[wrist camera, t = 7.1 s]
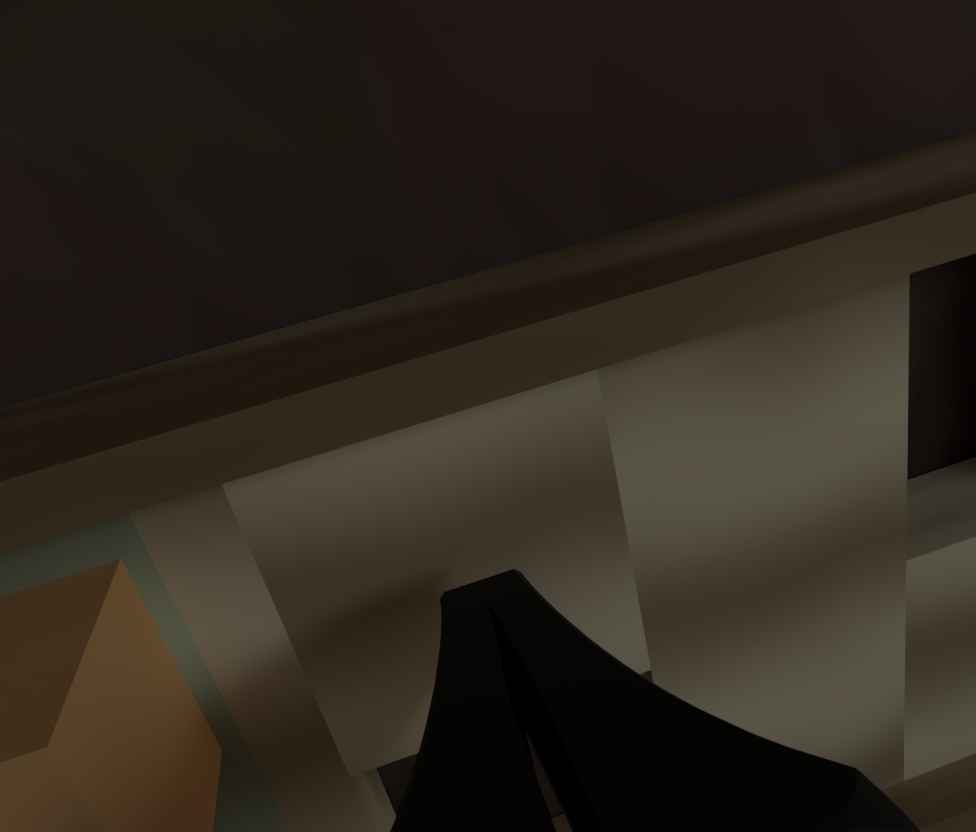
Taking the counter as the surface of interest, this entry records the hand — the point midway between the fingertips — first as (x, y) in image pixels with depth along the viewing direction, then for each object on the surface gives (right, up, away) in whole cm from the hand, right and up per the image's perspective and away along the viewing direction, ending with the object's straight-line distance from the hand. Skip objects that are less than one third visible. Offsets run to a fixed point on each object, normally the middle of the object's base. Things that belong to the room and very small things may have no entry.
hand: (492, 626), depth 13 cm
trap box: (+2, -1, +5) cm, 5 cm away
